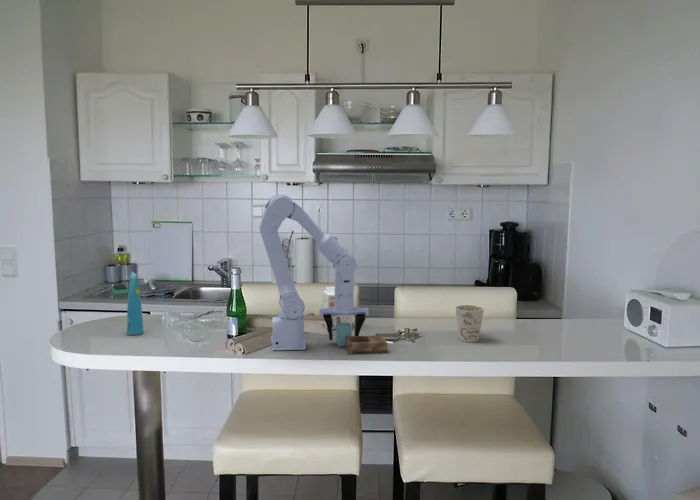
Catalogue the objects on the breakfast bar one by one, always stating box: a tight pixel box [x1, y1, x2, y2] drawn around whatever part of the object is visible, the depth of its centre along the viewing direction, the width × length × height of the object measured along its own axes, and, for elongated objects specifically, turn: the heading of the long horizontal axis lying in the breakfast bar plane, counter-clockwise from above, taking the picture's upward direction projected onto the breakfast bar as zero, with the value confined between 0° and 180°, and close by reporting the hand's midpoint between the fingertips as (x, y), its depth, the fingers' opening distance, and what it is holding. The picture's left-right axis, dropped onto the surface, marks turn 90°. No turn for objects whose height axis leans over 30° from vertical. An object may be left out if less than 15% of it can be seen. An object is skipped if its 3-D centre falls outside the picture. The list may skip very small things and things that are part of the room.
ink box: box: [322, 286, 353, 331], centre depth 176 cm, size 9×8×13 cm
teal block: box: [335, 322, 352, 347], centre depth 156 cm, size 4×4×6 cm
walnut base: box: [344, 335, 388, 355], centre depth 151 cm, size 11×8×3 cm
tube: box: [126, 271, 144, 336], centre depth 163 cm, size 7×5×19 cm, turn 39°
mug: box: [455, 304, 484, 343], centre depth 164 cm, size 8×13×10 cm, turn 152°
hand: (343, 339), depth 156 cm, fingers open, 7 cm apart
